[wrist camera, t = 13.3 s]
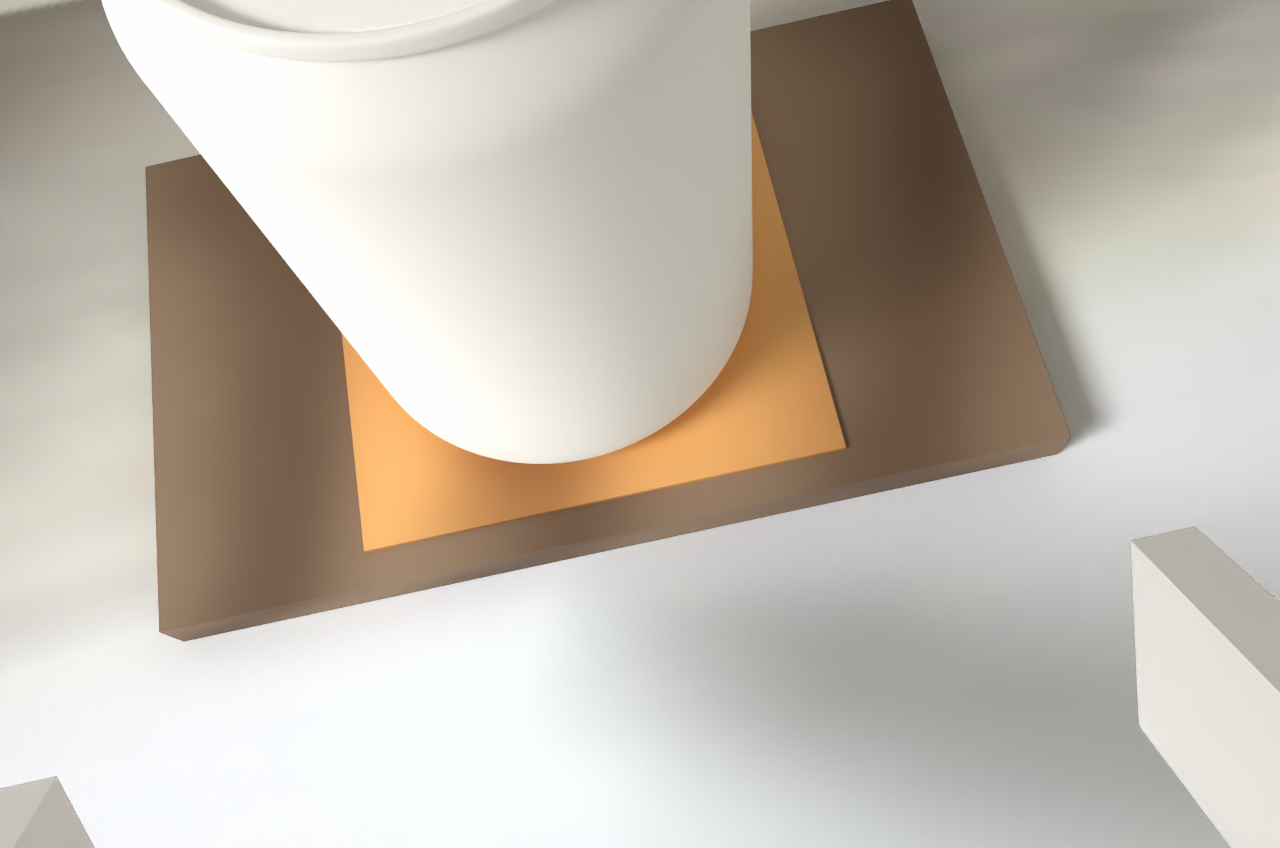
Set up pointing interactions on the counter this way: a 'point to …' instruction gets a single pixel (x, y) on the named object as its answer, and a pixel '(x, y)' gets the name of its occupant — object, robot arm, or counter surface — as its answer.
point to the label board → (653, 467)
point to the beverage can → (488, 193)
